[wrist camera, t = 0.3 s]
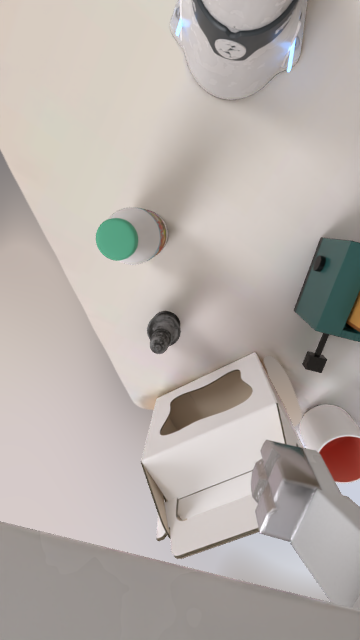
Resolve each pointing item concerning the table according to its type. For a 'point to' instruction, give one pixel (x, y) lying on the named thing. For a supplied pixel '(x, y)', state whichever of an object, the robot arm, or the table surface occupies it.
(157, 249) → the milk bottle
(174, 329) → the chess piece
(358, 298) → the toast
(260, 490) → the robot arm
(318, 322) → the toaster
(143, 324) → the table surface
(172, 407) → the gable box
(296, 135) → the table surface
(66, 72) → the table surface
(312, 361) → the carriage
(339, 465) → the cup
